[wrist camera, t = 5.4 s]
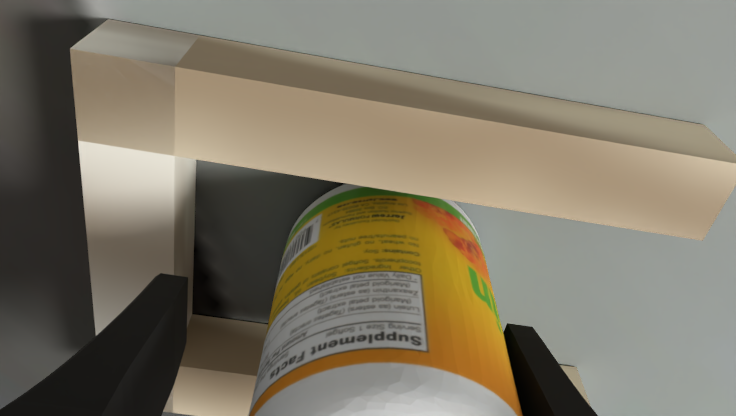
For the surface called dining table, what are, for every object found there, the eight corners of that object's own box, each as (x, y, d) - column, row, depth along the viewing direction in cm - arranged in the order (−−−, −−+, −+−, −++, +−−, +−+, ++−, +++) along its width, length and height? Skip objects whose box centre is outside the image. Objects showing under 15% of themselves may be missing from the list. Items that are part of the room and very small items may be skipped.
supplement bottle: (489, 312, 18) (582, 729, 10) (313, 337, 19) (262, 747, 10) (469, 154, 15) (578, 555, 7) (261, 189, 16) (135, 595, 8)
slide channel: (554, 408, 20) (570, 462, 19) (126, 351, 19) (101, 403, 17) (705, 124, 15) (747, 165, 13) (108, 18, 13) (69, 48, 12)
